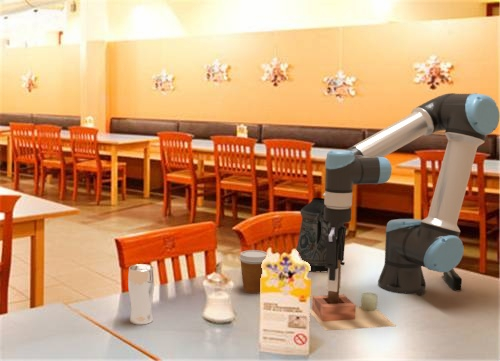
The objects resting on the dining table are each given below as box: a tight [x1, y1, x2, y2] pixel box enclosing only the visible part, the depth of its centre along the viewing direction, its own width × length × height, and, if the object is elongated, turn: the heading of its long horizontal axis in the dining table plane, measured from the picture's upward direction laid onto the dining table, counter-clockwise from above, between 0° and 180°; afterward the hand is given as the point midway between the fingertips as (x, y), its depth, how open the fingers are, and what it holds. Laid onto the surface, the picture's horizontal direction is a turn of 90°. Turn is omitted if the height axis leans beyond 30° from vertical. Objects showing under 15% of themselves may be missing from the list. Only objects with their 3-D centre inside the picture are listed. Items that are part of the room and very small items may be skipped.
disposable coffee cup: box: [238, 249, 268, 294], centre depth 197 cm, size 10×10×12 cm
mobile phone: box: [441, 268, 463, 291], centre depth 208 cm, size 5×3×15 cm
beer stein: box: [295, 197, 330, 273], centre depth 224 cm, size 16×19×25 cm
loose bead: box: [360, 292, 378, 311], centre depth 180 cm, size 4×4×4 cm
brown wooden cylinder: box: [327, 260, 341, 304], centre depth 173 cm, size 3×3×12 cm
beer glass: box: [127, 263, 155, 326], centre depth 168 cm, size 7×7×15 cm
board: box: [309, 294, 397, 331], centre depth 172 cm, size 20×16×5 cm
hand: (333, 289), depth 174 cm, fingers closed on brown wooden cylinder, 2 cm apart
